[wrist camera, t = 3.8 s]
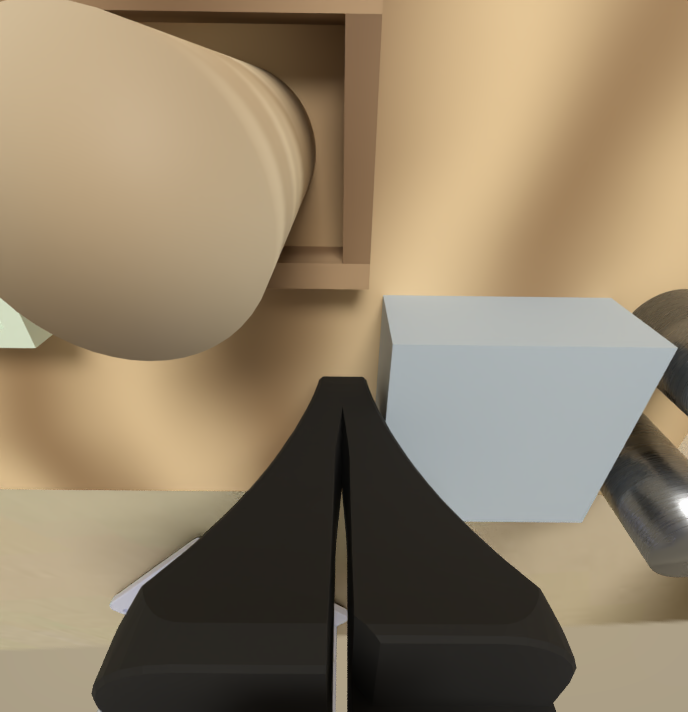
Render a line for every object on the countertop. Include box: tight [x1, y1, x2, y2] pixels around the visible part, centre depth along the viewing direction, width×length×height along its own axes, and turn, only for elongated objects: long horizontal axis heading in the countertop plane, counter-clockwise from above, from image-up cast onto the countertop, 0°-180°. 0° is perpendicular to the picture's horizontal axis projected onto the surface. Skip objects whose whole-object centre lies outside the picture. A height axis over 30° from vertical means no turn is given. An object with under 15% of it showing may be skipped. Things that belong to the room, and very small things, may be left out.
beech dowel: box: [0, 0, 316, 361], centre depth 6 cm, size 3×3×6 cm
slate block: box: [376, 295, 678, 523], centre depth 11 cm, size 6×6×2 cm
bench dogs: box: [600, 289, 688, 577], centre depth 10 cm, size 2×6×4 cm, turn 0°
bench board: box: [0, 0, 688, 495], centre depth 11 cm, size 25×14×2 cm, turn 89°
